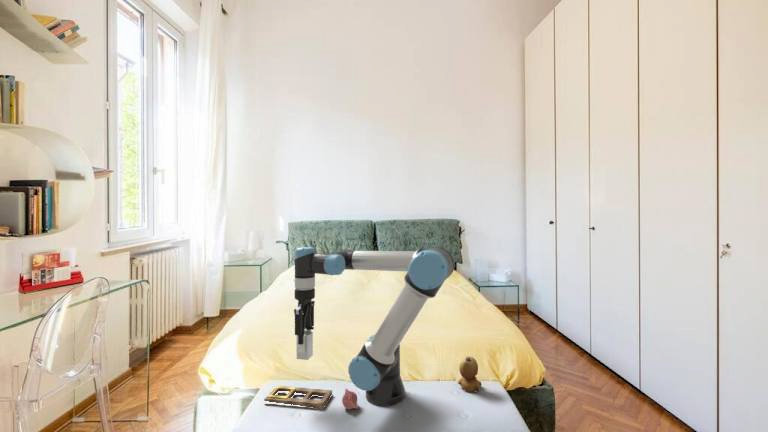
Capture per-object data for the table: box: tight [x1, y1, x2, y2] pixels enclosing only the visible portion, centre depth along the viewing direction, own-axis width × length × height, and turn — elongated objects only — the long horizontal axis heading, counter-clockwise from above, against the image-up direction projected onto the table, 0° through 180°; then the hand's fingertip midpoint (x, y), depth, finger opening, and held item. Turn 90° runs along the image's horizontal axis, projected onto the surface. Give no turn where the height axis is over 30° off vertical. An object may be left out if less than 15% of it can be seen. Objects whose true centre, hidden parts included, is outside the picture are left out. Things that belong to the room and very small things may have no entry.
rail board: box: [263, 385, 333, 410], centre depth 133 cm, size 23×10×2 cm, turn 79°
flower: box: [341, 388, 359, 410], centre depth 127 cm, size 8×8×6 cm
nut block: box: [296, 331, 314, 361], centre depth 133 cm, size 4×4×9 cm
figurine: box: [457, 356, 482, 393], centre depth 138 cm, size 10×8×15 cm
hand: (304, 349), depth 133 cm, fingers closed on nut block, 4 cm apart
